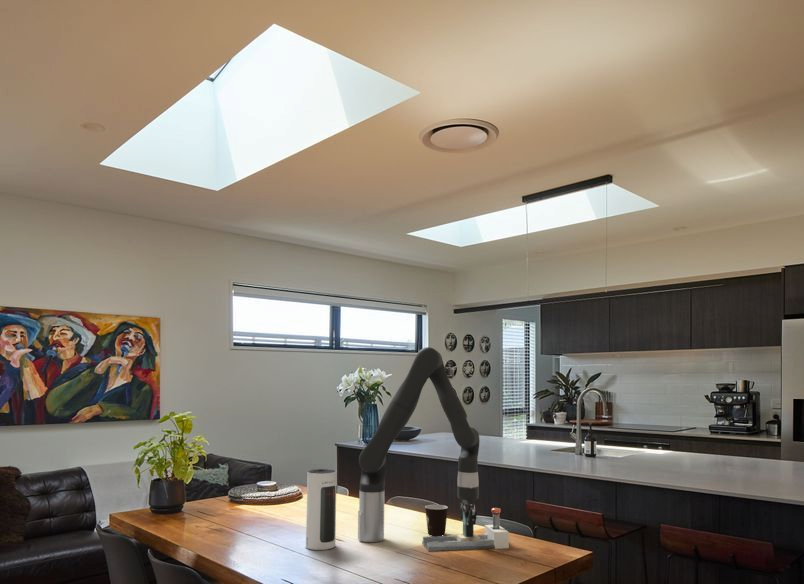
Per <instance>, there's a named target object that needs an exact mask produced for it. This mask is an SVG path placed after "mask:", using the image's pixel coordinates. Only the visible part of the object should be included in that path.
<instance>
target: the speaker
mask: <svg viewBox="0 0 804 584" xmlns="http://www.w3.org/2000/svg"><path fill="white" fill-rule="evenodd" d="M306 476H307V477H306V479H307V480H306V483H307V484H306V485H307V486H306V487H307V488H306V521H305V522H306V525H305V526H306V527H305V528H306V530H305V548H306V549H308V550H310V551H327V550H332V549H333V548H335V547H336V535H337V534H336V530H337V528H336V527H337V525H336V524H337V523H336V521H337V517H336V516H337V470H336V469H331V468H328V469H327V468H316V469H310V470H308V471H307V475H306Z"/></svg>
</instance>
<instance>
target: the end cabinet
mask: <svg viewBox="0 0 804 584" xmlns="http://www.w3.org/2000/svg"><path fill="white" fill-rule="evenodd" d="M484 534H486V535H487V539H493V540H494V545H495V548H494V550H499V549H509V548H510V547H509V546H510V545H509V544H510V543H509V542H510V541H509V540H510V539H509V538H510V536H509V531H508V530H507V529H505V527H502V526H501V525H500V529H496V530H493V524H484Z"/></svg>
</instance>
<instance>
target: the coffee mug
mask: <svg viewBox="0 0 804 584" xmlns="http://www.w3.org/2000/svg"><path fill="white" fill-rule="evenodd" d="M448 508H449V507H448V506H447V505H443V504H428V505H425V506H424V509H425V518H426V527H427V528H426V529H427V535H428V534H429V535H428V536H430V535H432V536H442V535H444V536H446V528H447V518H448V517H447V516H448Z"/></svg>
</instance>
